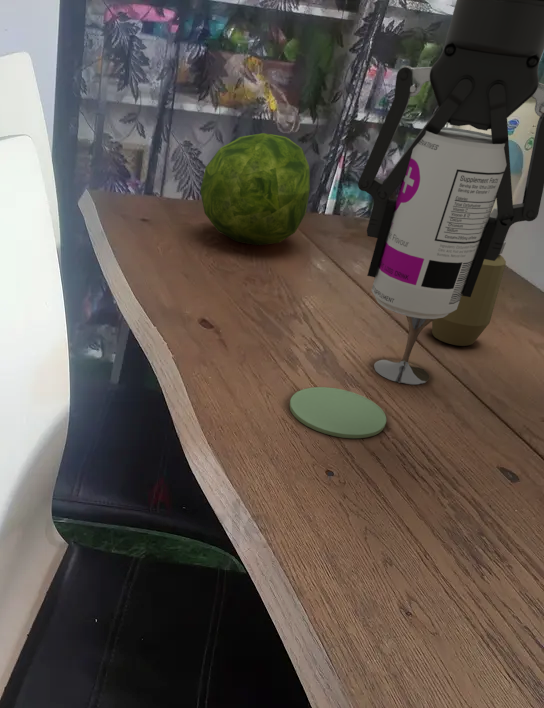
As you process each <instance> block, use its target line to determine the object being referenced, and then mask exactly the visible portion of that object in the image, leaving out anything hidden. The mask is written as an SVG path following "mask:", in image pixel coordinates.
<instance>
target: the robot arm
mask: <svg viewBox="0 0 544 708" xmlns="http://www.w3.org/2000/svg"><path fill="white" fill-rule="evenodd" d="M543 53H544V0H456V1H455V5H454V8H453V13H452V16H451V18H450V23H449V26H448V30H447V34H446V36H445V41H444V44H443V48H442V51H441V54H440V55H439V56H438V59H436V61H435V62H434V63H433V64H432V66H422V67H421V66H419V67H417V66H416V67H412V66H411V65H408V64H407V65H403V66H402V67H400V69H399V70H398V71H397V73H396V77H395V86H394V96H393V101H392V103H391V106H390V107H389V110H388V112H387V115H386V117H385V119H384V121H383V123H382V126H381V129H380V130H379V133H378V135H377V138H376V139H375V142H374V145H373V147H372V149H371V152H370V154H369V157H368V159H367V161H366V163H365V165H364V168H363V170H362V172H361V175H360V177H359V179H358V182H357V187H358V189H359V190H360V191H362V192H365V193H367V194H368V195H370V197H372V200H373V206H372V209H371V213H370V216H369V219H368V223H367V228H366V236H367V237H370V238H374V239H376V242H375V245H374V249H373V253H372V257H371V259H370V265H369V268H368V272H367V275H366V276H367V277H372V278H375V276H376V273H377V269H378V266H379V262H380V259H381V255H382V251H383V248H384V244H385V241H386V237H387V233H388V230H389V226H390V223H391V219H392V216H393V212H394V208H395V204H396V200H397V199H395V198H391V196H392V195H393V194H394V192H395V190H397V188H398V187H399V185H401V182H402V180H403V179H404V178H405V176H406V172H407V169H408V165H409V162H410V158H411V155H412V151H413V148H414V147H415V146H416V145H417V144H418V143H419V141H420V140H421V139H422V138H423V137H424V136H425V134H426V131H428V132H431V133H433V134H436V135H437V134H438V133H439V132H440V131H441V129H442V128H443V127H446V124H447V123H448V125H450V126H456V127H461V126H462V127H464V126H470V127H472V128H474V129H476V130H481V131H488V130H490V135H492V144H505V146H504V152H505V158H506V164H507V165H506V168H505V171H504V174H503V176H502V179H501V182H500V185H499V188H498V191H497V193H496V195H497V197H496V208H497V212H498V214H497V217H496V218H492V217H489V220H488V223H487V225H486V228H485V231H484V234H483V237H482V239H481V242H480V245H479V248H478V251H477V254H476V256H475V259H474V262H473V265H472V268H471V270H470V273H469V276H468V279H467V282H466V285H465V287H464V290H463V293H462V296H467V297H471V294H472V292H473V289H474V286H475V283H476V281H477V278H478V275H479V272H480V270H481V267H482V264H483V261H484V259H487V260H492V261H495V260H496V259H497V257H498V256H499V254H500V251H501V249H502V246H503V243H504V241H505V240H506V238H507V235H508V232H509V230H510V228H511V227H512V226H513V225H514V224H516V223H520V222H532V221H533V222H534V221H535V220H536V219H537V218H538V216H539V214H540V213H539V211H540V208H541V203H542V197H543V193H544V83H541V82H540V77H539V66H540V62H541V59H542V56H543ZM429 82H430V85H431V88H432V91H433V94H434V97H435V100H436V103H437V106H438V107H437V108H436V109H435V111H434V112H433V114H432V115H431V116H430V117H429V119H428V120H427V122H426V123H425V125H424V126H423V127H422V129H421V130H420V132H418V134H417V135H416V137H415V138H414V139H413V141H412V142H411V143H410V145H409V146H408V148H407V149H406V150H405V151H404V153H403V154H402V155H401V157H400V159H398V161H397V162H396V163H395V166H393V168H392V169H391V170H390V172H389V173H388V174H387V176H386V177H385V178H384V180H382V179H380V178H378V177H377V175H378V173H379V171H380V169H381V166H382V164H383V161H384V159H385V158H386V155H387V153H388V150H389V149H390V146H391V143H392V141H393V139H394V137H395V134H396V132H397V130H398V128H399V125H400V123H401V121H402V119H403V116H404V114H405V112H406V110H407V108H408V105H409V102H410V99H411V97H415V96H417V95H418V94H419V93H420V91H421V89H422V87H423V85H424V84H426V83H429ZM531 98H534V99H535V105H534V113H535V114H536V115H537V116H538V117H539V118H538V121H537V124H536V129H535V133H534V140H533V144H532V148H531V155H530V160H529V165H528V171H527V175H526V176H527V177H526V182H525V187H524V191H523V192H524V193H523V197H522V202H521V203H516V204H514V202H513V187H512V174H511V173H512V172H511V171H512V170H511V159H510V158H511V157H510V144H509V143H510V142H509V127H508V125H509V124H508V118H509V117H510V116H511V115H513V114H514V113H515V112H516V111H517V110H519V108H520V107H522V106H523V105H524V104H525V103H526V102H528V100H530V99H531ZM500 255H501V254H500Z"/></svg>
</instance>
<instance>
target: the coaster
mask: <svg viewBox="0 0 544 708" xmlns="http://www.w3.org/2000/svg"><path fill="white" fill-rule="evenodd" d="M289 410H290V413H291V414H292V415H293V417H294V418H295V419H296V420H297V421H299V422H300V423H301V424H303V425H304V426H305V427H308V428H309V429H312V430H313V431H316V432H318V433H322V434H324V435H328V436H332V437H337V438H343V439H364V438H370V437H374V436H377V435H378V434H380V433H381V432H382V431H383V430H384V429H385V427H386V424H387V415H386V413H385V412H384V411H383V409H382V408H381V407H380V406H379V405H378V404H377V403H375V402H374V401H373V400H371V399H370V398H367V397H366V396H363V395H361V394H358V393H356V392H353V391H351V390H350V391H349V390H347V389H341V388H337V387H329V386H314V387H313V386H312V387H307V388H303V389H301V390H300V389H299V390H298V391H297V392H295V393H294V394H293V395H292V396H291V397H290V401H289Z"/></svg>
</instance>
